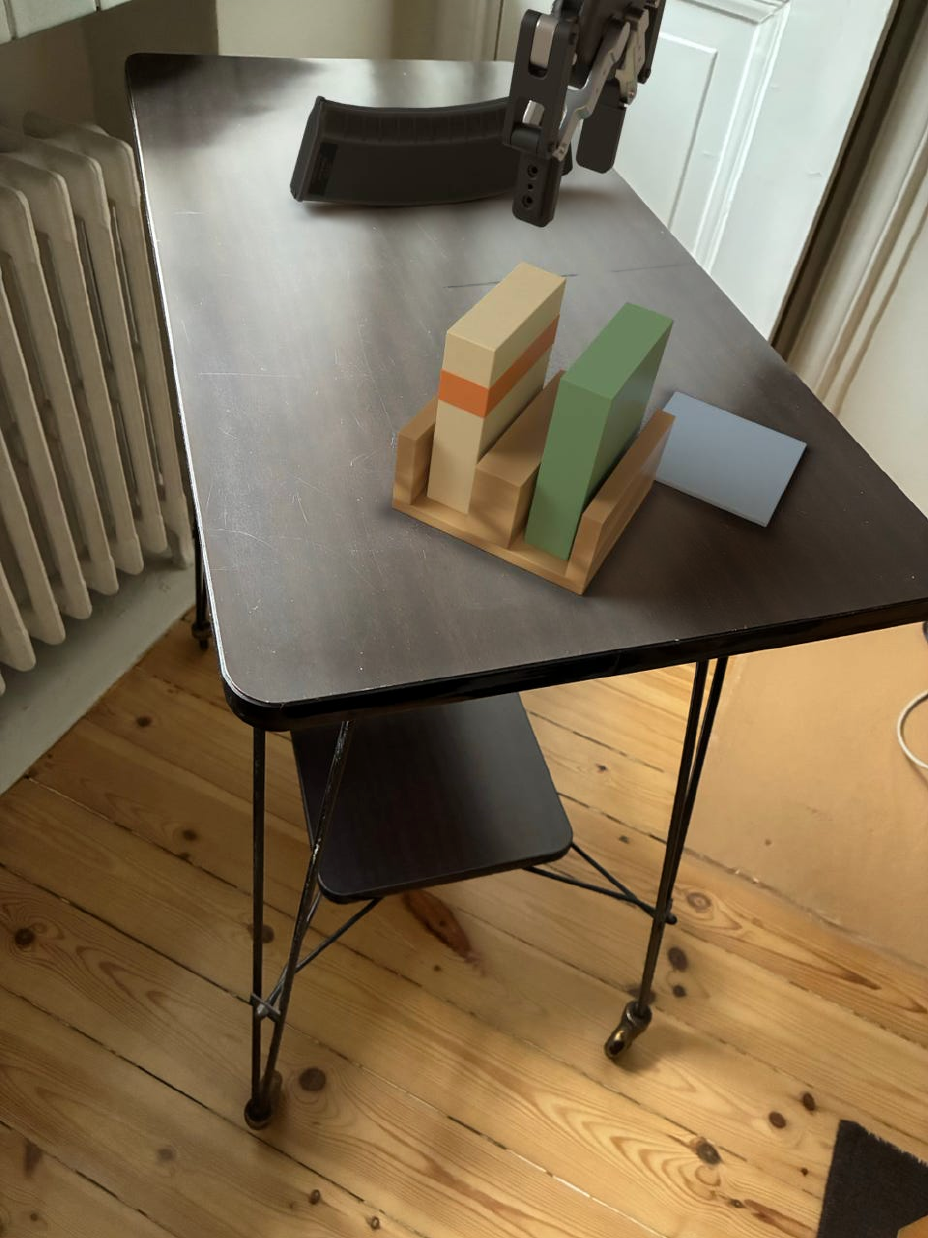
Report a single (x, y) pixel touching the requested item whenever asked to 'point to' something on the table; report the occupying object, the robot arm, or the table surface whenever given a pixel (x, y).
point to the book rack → (527, 491)
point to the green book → (595, 423)
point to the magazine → (406, 154)
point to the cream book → (491, 375)
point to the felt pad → (727, 459)
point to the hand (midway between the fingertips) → (563, 193)
